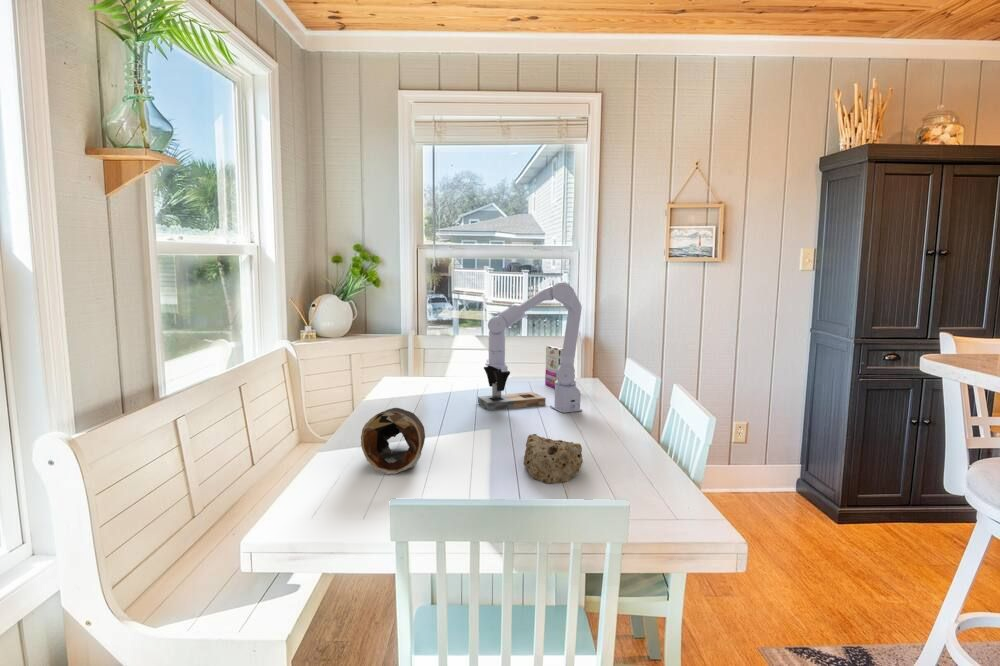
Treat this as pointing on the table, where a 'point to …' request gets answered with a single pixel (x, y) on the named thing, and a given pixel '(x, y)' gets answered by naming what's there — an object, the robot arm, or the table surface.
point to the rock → (552, 459)
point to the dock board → (512, 401)
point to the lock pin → (495, 392)
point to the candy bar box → (552, 364)
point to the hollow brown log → (386, 428)
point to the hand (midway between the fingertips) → (496, 388)
